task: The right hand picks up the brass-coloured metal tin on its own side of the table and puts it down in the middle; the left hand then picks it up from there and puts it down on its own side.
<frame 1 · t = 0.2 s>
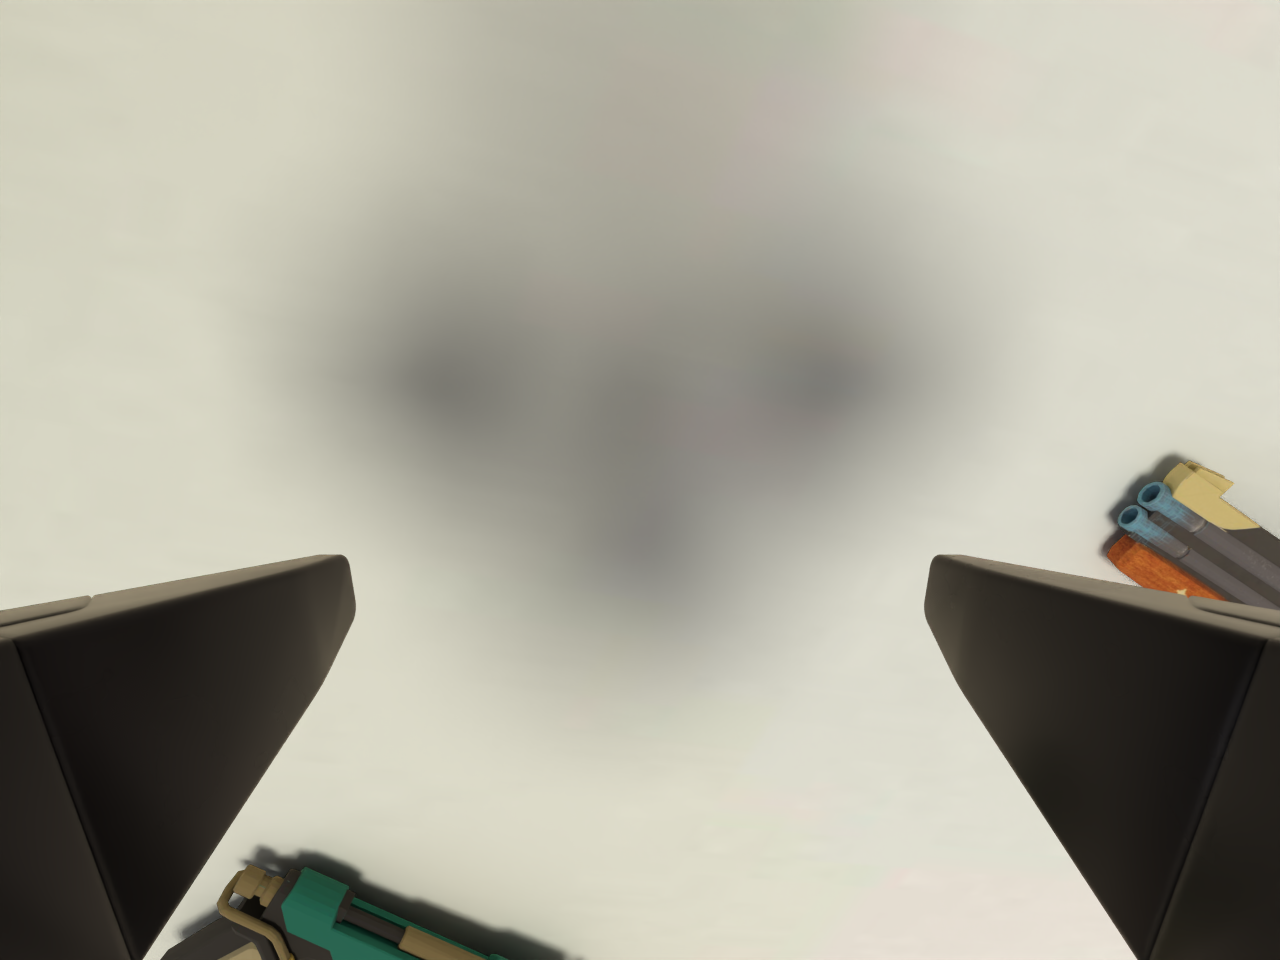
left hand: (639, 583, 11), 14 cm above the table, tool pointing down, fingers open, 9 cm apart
toy gun: (1247, 668, 28), on the table
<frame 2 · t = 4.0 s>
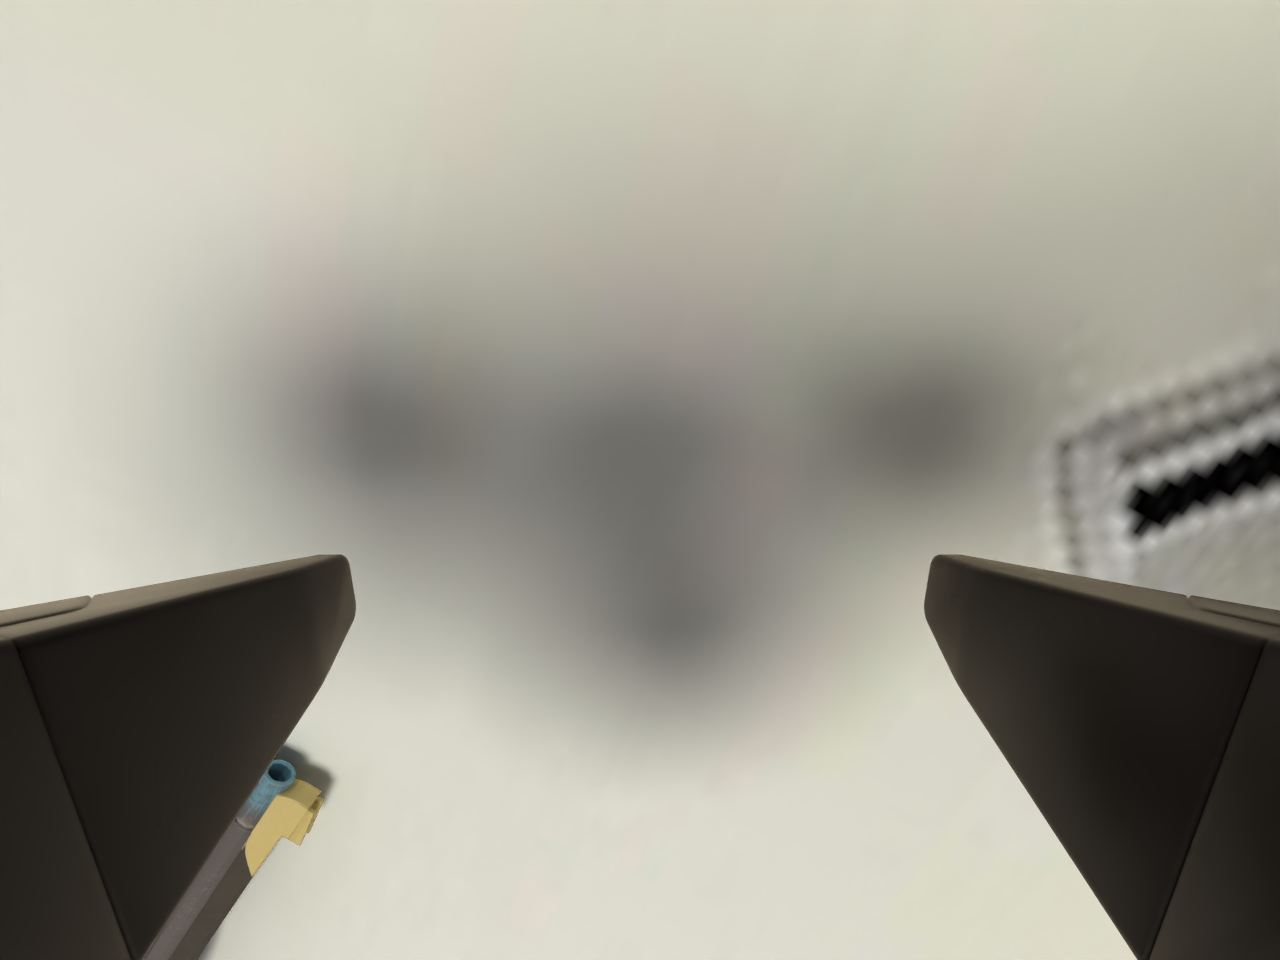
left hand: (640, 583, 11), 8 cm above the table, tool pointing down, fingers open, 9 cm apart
toy gun: (84, 887, 25), on the table
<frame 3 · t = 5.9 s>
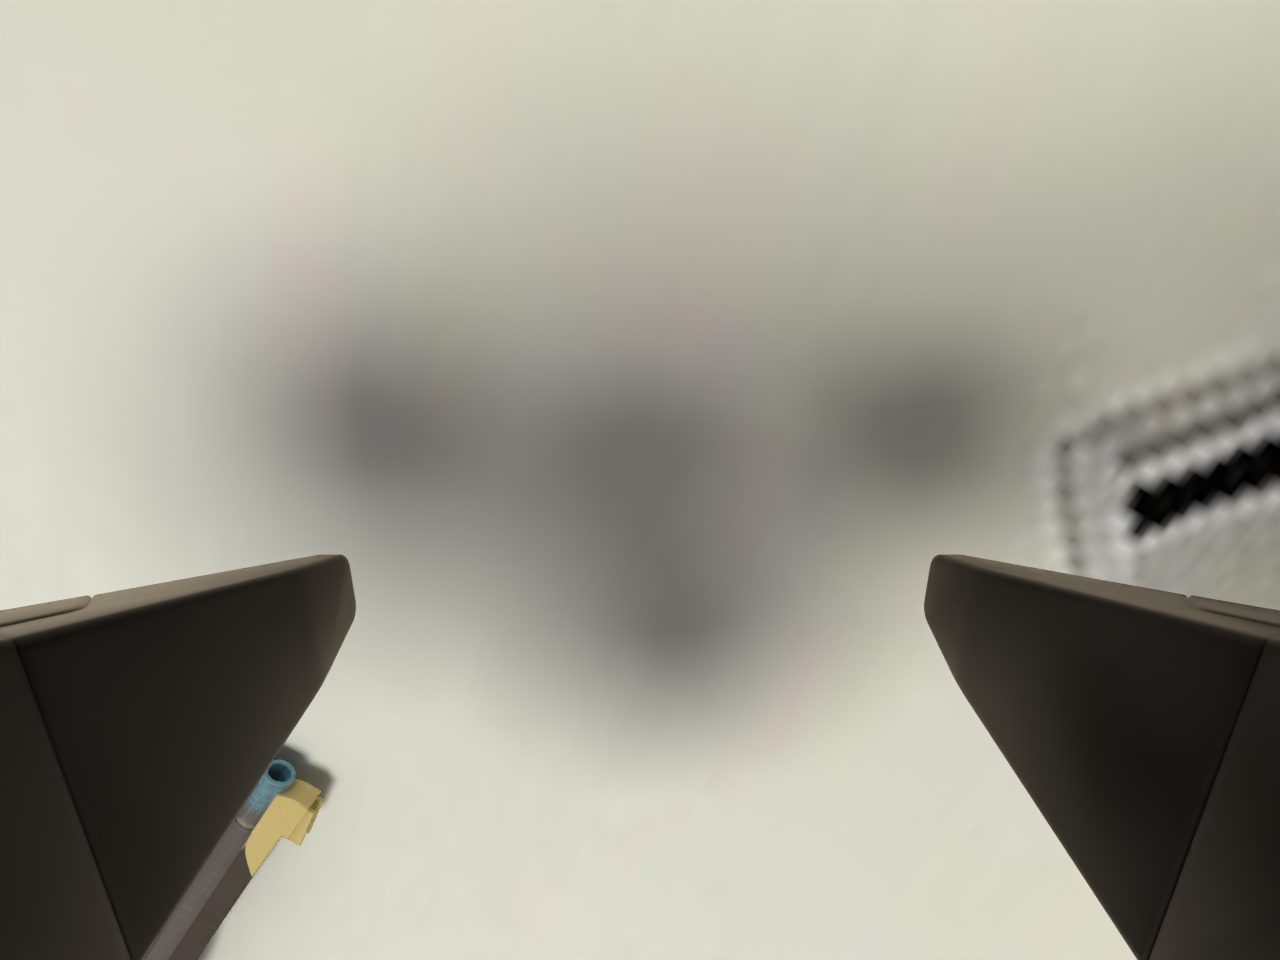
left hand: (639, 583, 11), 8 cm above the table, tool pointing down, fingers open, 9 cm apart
toy gun: (84, 887, 25), on the table
when the right hand's fingers open (1 cm above the table, at t = 7.8 s): tin stays where it is, on the table.
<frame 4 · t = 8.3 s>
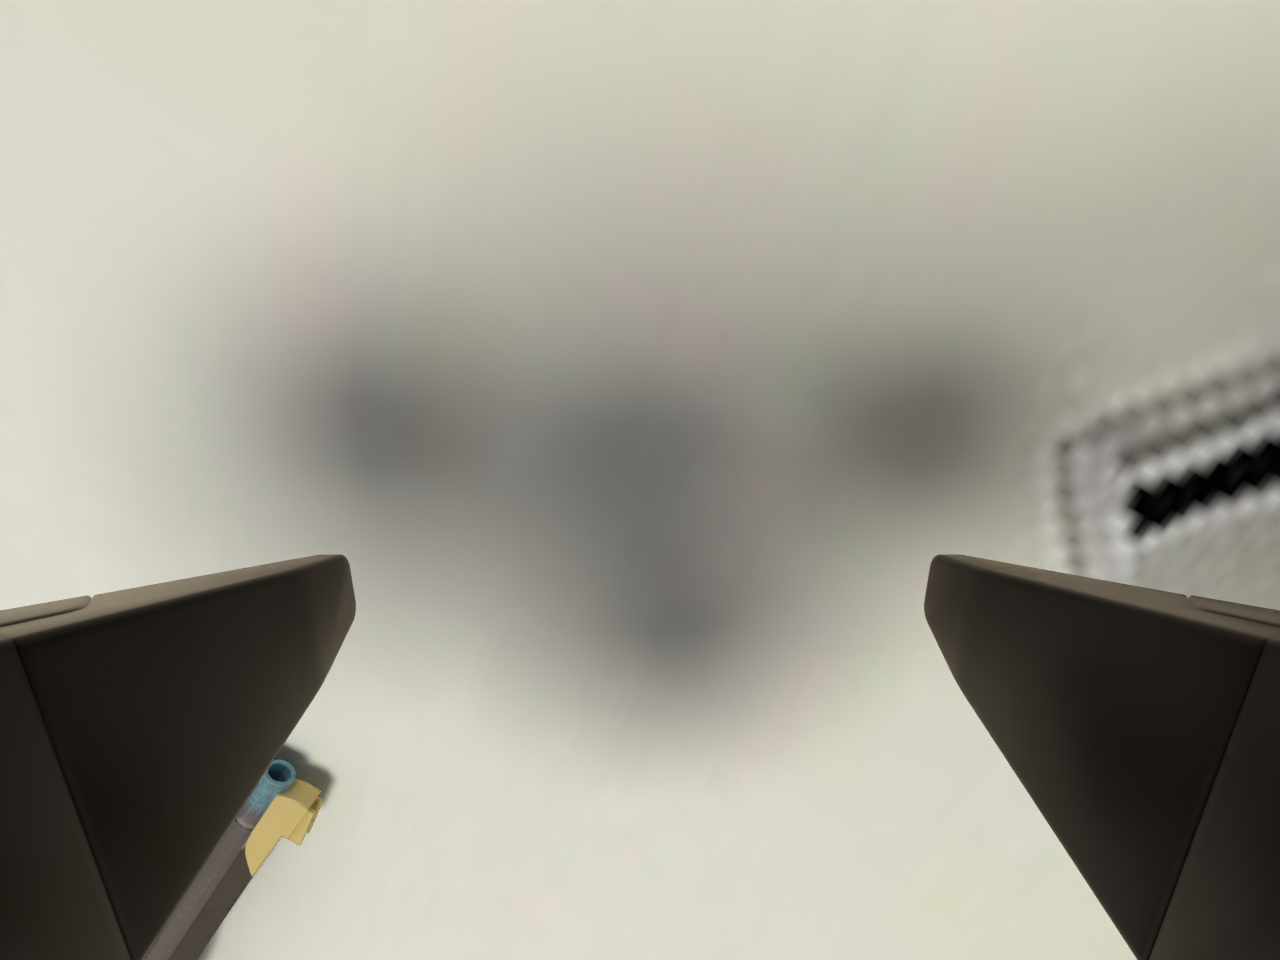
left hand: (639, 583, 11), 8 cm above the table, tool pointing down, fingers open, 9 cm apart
toy gun: (84, 887, 25), on the table
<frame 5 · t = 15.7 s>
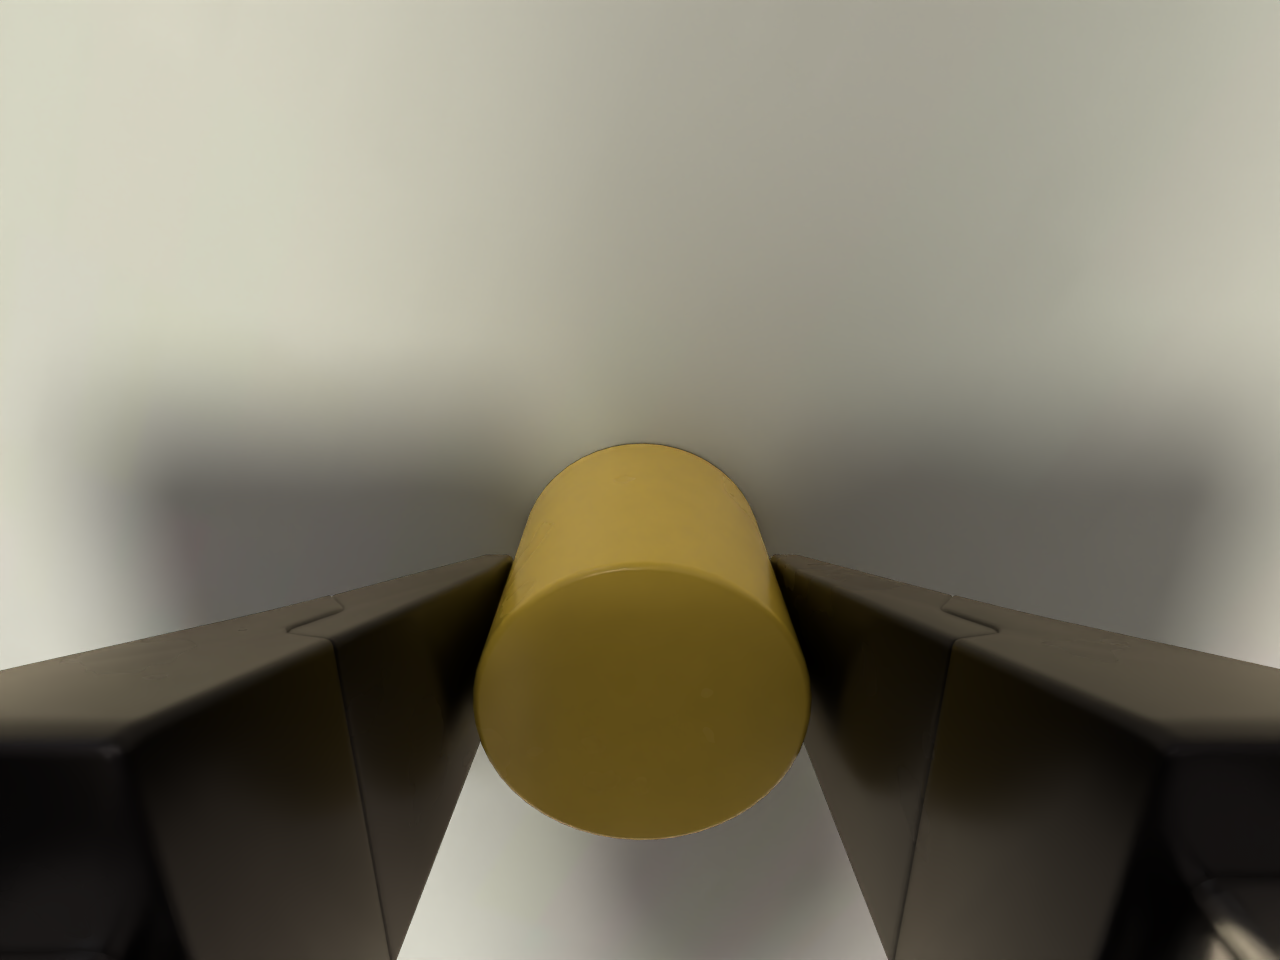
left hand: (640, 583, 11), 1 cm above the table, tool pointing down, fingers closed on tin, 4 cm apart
tin: (641, 553, 12), on the table, touching left hand
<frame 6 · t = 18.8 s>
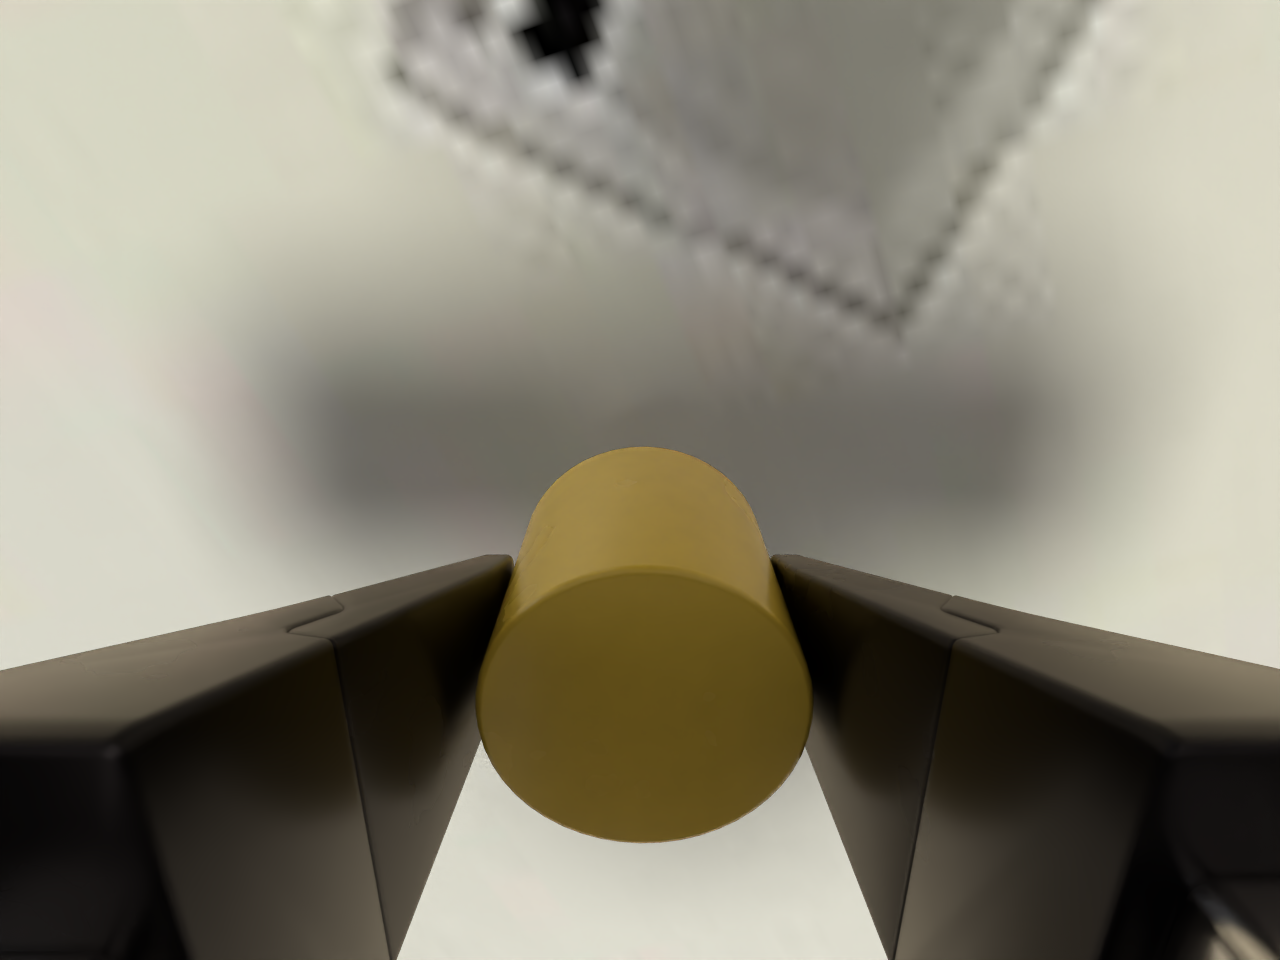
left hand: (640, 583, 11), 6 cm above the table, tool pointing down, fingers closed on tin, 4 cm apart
tin: (642, 556, 12), point 5 cm above the table, touching left hand
when the left hand's fingers open (2 cm above the table, at t = 22.3 s): tin stays where it is, on the table.
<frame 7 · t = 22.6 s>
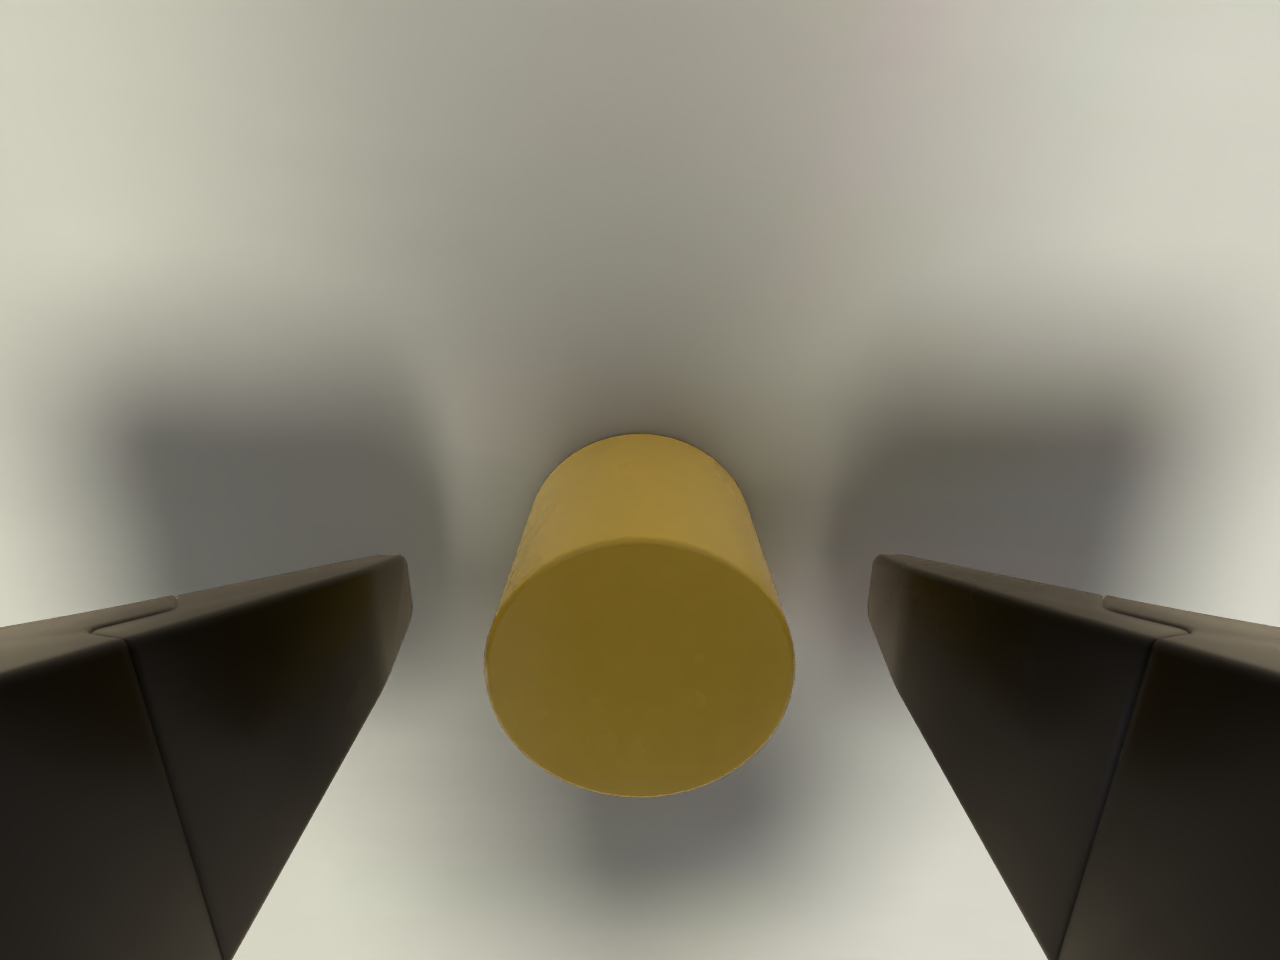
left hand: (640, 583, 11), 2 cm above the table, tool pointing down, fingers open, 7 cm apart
tin: (639, 538, 13), on the table
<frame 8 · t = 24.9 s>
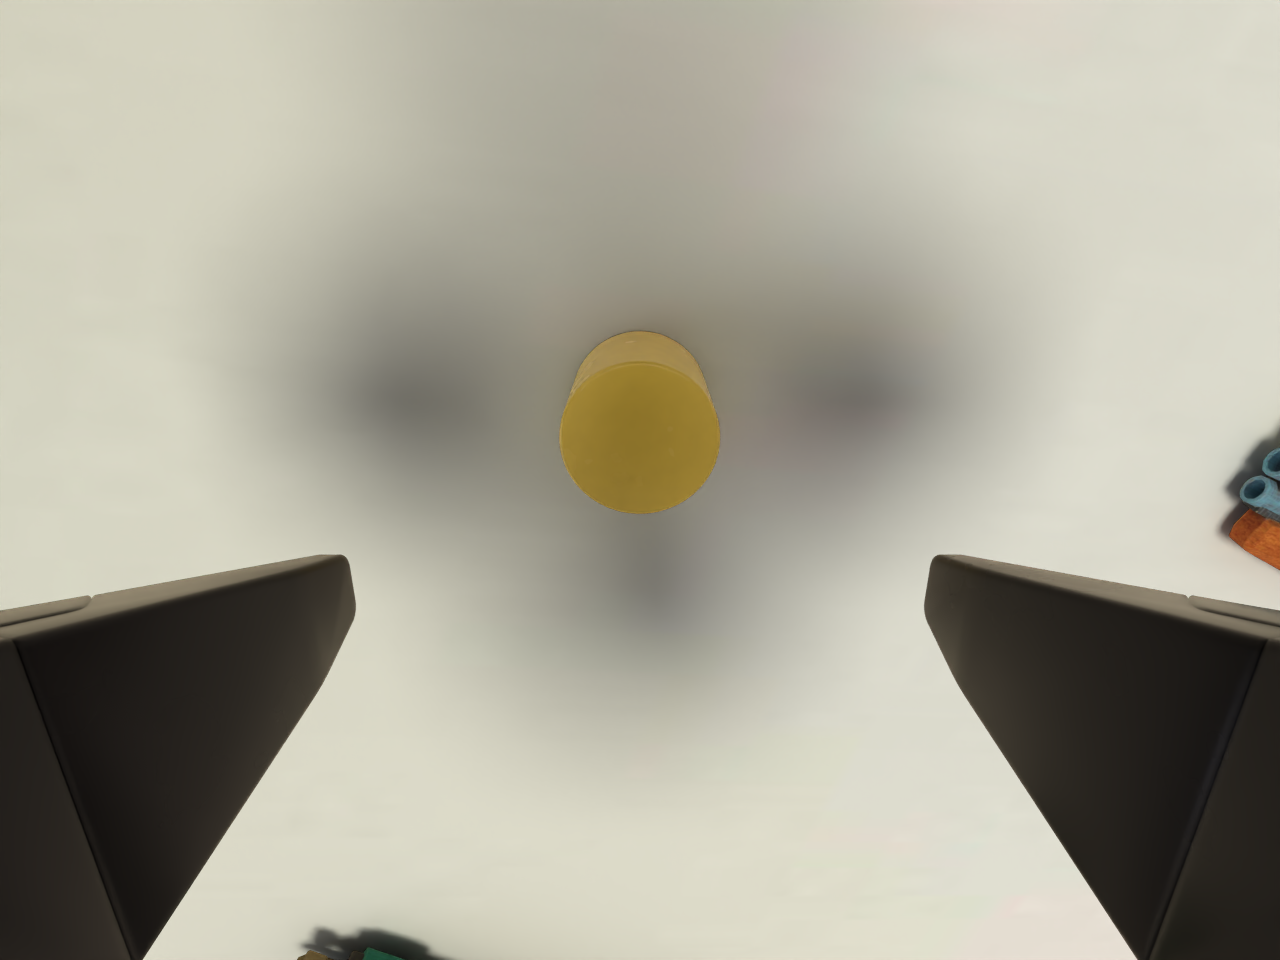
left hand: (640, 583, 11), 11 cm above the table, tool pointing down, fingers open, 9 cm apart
tin: (639, 397, 22), on the table
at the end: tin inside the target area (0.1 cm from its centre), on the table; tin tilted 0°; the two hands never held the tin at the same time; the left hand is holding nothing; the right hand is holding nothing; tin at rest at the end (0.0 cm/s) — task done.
